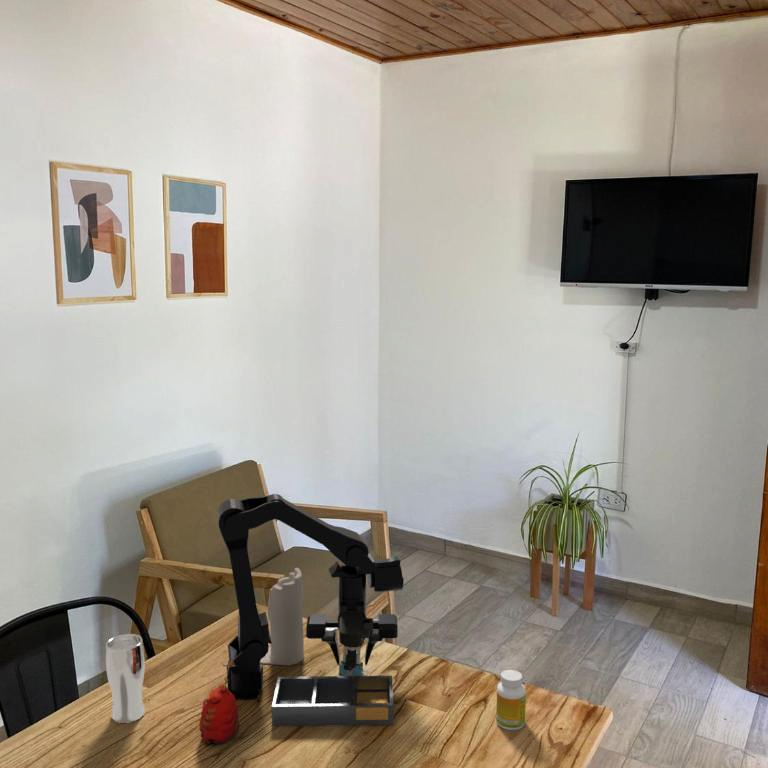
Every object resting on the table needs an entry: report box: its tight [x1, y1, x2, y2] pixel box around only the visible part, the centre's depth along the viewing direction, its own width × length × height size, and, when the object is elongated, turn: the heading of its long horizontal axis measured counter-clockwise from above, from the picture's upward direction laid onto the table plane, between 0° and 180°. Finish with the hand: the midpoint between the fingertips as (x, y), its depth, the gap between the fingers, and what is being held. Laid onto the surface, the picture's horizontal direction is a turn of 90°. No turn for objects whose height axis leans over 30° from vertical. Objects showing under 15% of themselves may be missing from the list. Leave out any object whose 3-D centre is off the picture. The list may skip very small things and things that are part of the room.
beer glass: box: [105, 633, 146, 724], centre depth 150 cm, size 7×7×15 cm
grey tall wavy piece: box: [260, 567, 305, 666], centre depth 171 cm, size 7×14×20 cm, turn 82°
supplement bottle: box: [495, 669, 527, 731], centre depth 147 cm, size 5×5×10 cm
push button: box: [338, 638, 371, 676], centre depth 163 cm, size 7×5×10 cm
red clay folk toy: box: [198, 659, 240, 745], centre depth 143 cm, size 8×7×15 cm
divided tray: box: [271, 675, 395, 727], centre depth 152 cm, size 23×11×4 cm, turn 91°
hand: (352, 664), depth 164 cm, fingers open, 5 cm apart
